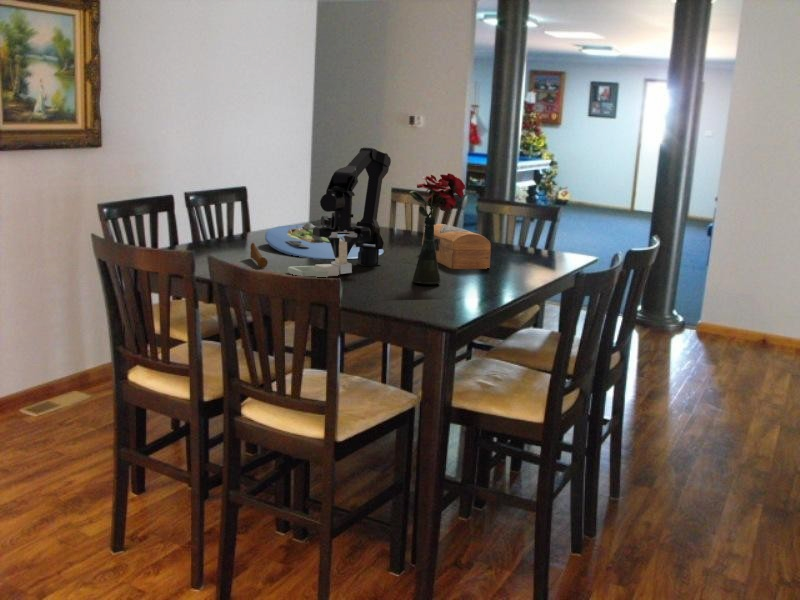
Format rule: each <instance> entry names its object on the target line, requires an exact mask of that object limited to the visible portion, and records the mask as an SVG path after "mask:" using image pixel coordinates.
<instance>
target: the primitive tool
mask: <svg viewBox="0 0 800 600" xmlns="http://www.w3.org/2000/svg"><path fill="white" fill-rule="evenodd" d="M250 258H251V259H253V260H254V261H255V262H256V264H257V266H258V267H259V268H262V269H265V268H266V267H267V266H268V263H269V262H268V259H267V258H266V257H263V255H262V254H261V253H260V252H259V249H258V248H257V246H256V244H255V243H254V242H251V244H250Z"/></svg>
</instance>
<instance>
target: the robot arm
mask: <svg viewBox="0 0 800 600" xmlns="http://www.w3.org/2000/svg"><path fill="white" fill-rule="evenodd" d="M391 163H392V159H391V157H390V156H389V154H388V153H386V152H382V151H380V150H377V149H376V148H375V147H360V148H359V151H358V153H357V154H356V155H355V156H354V158H352V159H351V161H350V162H349V163H348V164H347V165H346V166H344V167H340V168H338V169H336V170H335V171H333V174H332V176H331V178H330V181H329V182H328V186H327V188H326V191H325V192H326V193H325V194H324V195H322V196H321V199H320V200H319V201H320V202H319V204H320V207H321V209H322V210H323V212H325V213H326V212H327V213H328V212H329V213H331V212H332V213H331V217H329V216H328V215H322V216H321V217H320V226H317V227H314V229H313V235H315V236H318V237H325V238H327V239H328V240H329V241H330V244H331V246H332V249H333V253H334V256H335V258H337V257H338V251H339V240H340V238H338V237H337V234H345V235H346V236H344V239H345V241H346V242H347V256H348V254H349V252H350V250H351V248H352V246H353V245H354V243H355V244H356V247H360V248H359V252H358V259H357V261H356V264H357V265H360V266H363V267H381V264H380V263H379V258H380V255H379V249H383V248H384V244H385V242H384V240H383V237H382V236H381V233H380V232H381V226H380V225H379V222H378V220H377V219H378V213H379V206H380V205H379V204H380V199H381V198H380V197H381V190H382V183H383V180H384V178H385V176H387V174H388V173H389V170H390V169H389V168H390V166H391ZM364 170H365V172H366V173H367V176H368V179H367V187H366V192H365V199H364V201H365V202H364V206H363V207H364V208H363V214H362V217H361V220H360V221H357V222H356V225H355V226H352V218H354V213H352V212H353V211H352V210H353V197H354V196H355V195H356V194H355V192H354V191H353V190H354V189H355V188H356V187H357V184H359V179H358V177H359V176H360V175H361V173H362V172H363V171H364ZM321 226H322V227H321ZM324 226H325V227H324ZM366 244H370V245H366Z"/></svg>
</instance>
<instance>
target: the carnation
mask: <svg viewBox="0 0 800 600" xmlns="http://www.w3.org/2000/svg"><path fill="white" fill-rule="evenodd" d="M439 176H440V179H438V180H437V178H436V176H435V175H434V174H430V176H429V175H425V176H422V178H421V179H422V180H425V182H426V183H425V182H424V181H422V182H421V183H417V185H416V188H417V189H421V188H423V189H426V192H428V195H429V197H428V199H425V197H424V196H423V195H422V194H421V193H419V192H418V191H416V190H411V191H409V193H408V194H409V195H410V196H411V197H412V199H413V200H415V201H417V202H418V203H421V204H423V205H424V207H423V206H419V208H418V213H419V214H420V215H422V216H423V217H424V222H423V223H424V231H423V232H425V234H424V240H423V245H422V244H421V248H420V253H419V255H418V256H419V257H418V259H417V263H416V266H415V267H416V268H415V270H414V273H413V278H412V282H413V284H416V283H417V284H418V283H419V284H420V285H435V286H436V285H437V284H440V283H441V277H440V272H439V264H438V262H437V259H436V251H435V244H434V225H436V223H435V221H436V220H435V219H436V217H434V215H435V213H436V211H437V209H438V207H439V210H440V211H443V212H446V211H447V212H448V211H452V209H454V207H455V206H456V204H457V198H456V197H455V195H454V194H456V196H458V198H459V199H462V198H463V197H464V190H465V189H466V184H465V183H464V181H463V180H462V179H461V178H460V177H457V176H455V175H454V174H452V173H446V174H439ZM426 205H427V206H429V210H430V211H429V213H428V210H427V207H426ZM434 208H435V209H434ZM430 216H431V217H430Z"/></svg>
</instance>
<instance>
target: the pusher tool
mask: <svg viewBox="0 0 800 600" xmlns="http://www.w3.org/2000/svg"><path fill="white" fill-rule="evenodd" d="M330 264H333V265H335V266H338V267H340V268H339V275H344V274H352V273H353V271H352V269H353V265H352V264H353V263H351V262H348V260H347V242H346V241H339V251H338V257H337V258H335V260H332V261H330Z"/></svg>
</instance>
